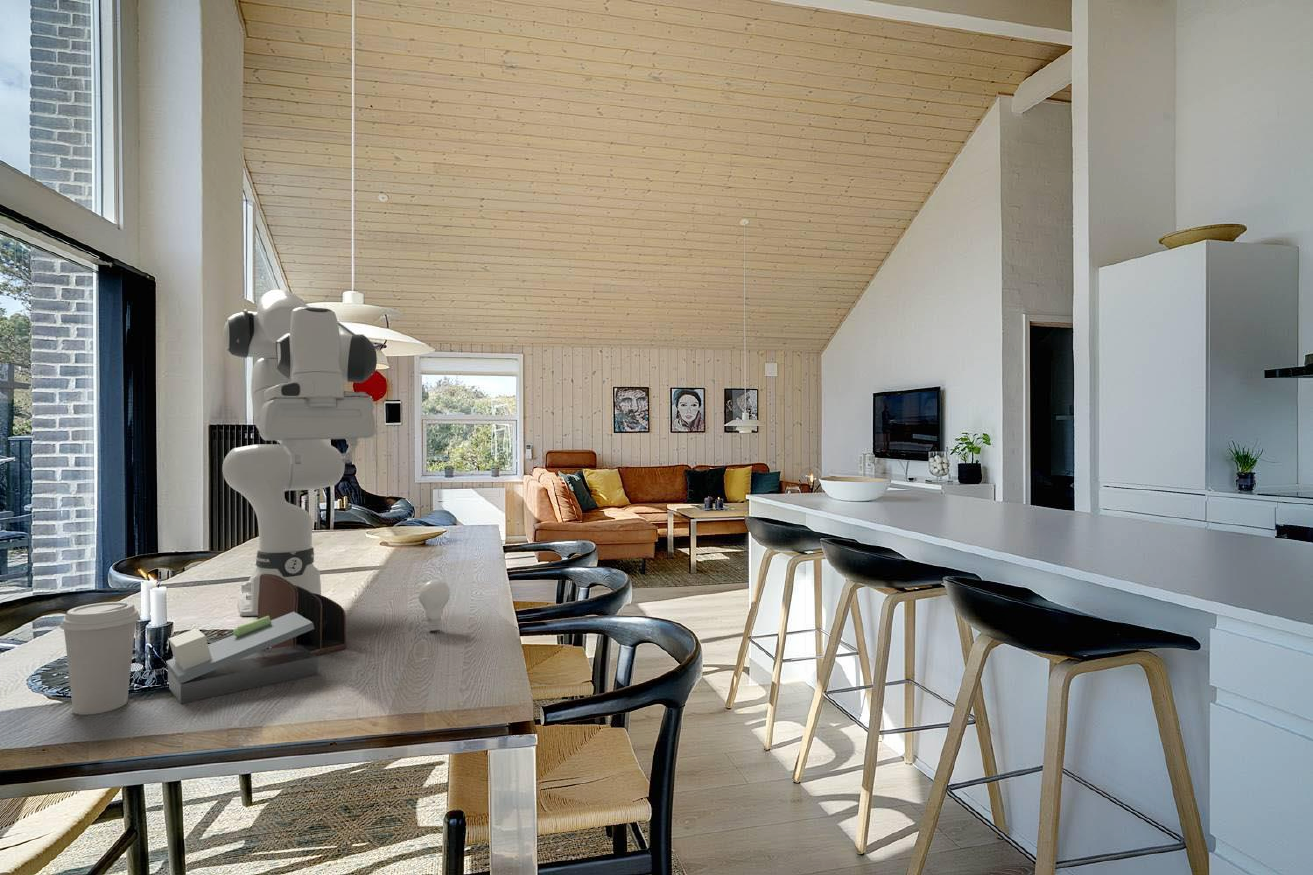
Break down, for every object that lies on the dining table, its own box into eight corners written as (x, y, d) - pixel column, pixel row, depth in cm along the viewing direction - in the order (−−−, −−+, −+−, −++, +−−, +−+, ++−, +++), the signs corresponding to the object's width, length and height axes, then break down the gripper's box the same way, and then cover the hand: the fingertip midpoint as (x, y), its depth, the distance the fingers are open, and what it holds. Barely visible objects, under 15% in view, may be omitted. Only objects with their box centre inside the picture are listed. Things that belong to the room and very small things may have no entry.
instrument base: (167, 686, 115) (167, 668, 115) (298, 660, 129) (298, 643, 129) (180, 703, 108) (180, 684, 108) (317, 673, 122) (317, 656, 122)
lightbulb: (411, 633, 147) (412, 581, 147) (432, 626, 153) (432, 575, 153) (436, 637, 145) (436, 583, 145) (456, 629, 151) (456, 577, 150)
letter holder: (292, 661, 129) (292, 584, 129) (256, 639, 143) (256, 569, 143) (347, 649, 137) (347, 576, 137) (307, 629, 150) (307, 563, 150)
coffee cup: (74, 724, 100) (75, 619, 100) (48, 709, 105) (49, 609, 105) (151, 702, 108) (151, 605, 108) (123, 690, 114) (123, 597, 113)
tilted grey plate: (167, 667, 115) (158, 638, 114) (295, 617, 129) (288, 591, 128) (180, 683, 108) (171, 652, 107) (314, 628, 122) (306, 600, 121)
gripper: (366, 394, 143) (369, 461, 143) (254, 391, 129) (258, 466, 128) (379, 390, 139) (383, 460, 138) (265, 386, 124) (268, 464, 124)
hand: (322, 463), depth 133 cm, fingers open, 8 cm apart
